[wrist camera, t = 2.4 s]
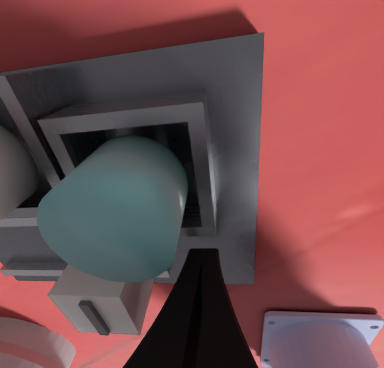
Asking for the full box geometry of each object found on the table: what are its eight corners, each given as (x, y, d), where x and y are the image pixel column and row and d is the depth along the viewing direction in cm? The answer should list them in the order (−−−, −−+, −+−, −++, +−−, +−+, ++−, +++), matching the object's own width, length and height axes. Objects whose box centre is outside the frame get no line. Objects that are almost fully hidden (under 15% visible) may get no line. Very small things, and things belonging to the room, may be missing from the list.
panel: (251, 270, 14) (258, 318, 12) (27, 268, 17) (-6, 308, 15) (259, 33, 7) (279, 29, 5) (-122, 91, 10) (-234, 107, 8)
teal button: (194, 218, 9) (185, 283, 6) (109, 220, 9) (73, 281, 7) (179, 130, 7) (159, 177, 4) (74, 139, 7) (6, 186, 5)
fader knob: (159, 259, 13) (138, 340, 10) (112, 259, 13) (76, 336, 10) (148, 222, 11) (117, 302, 8) (95, 223, 12) (44, 300, 8)
